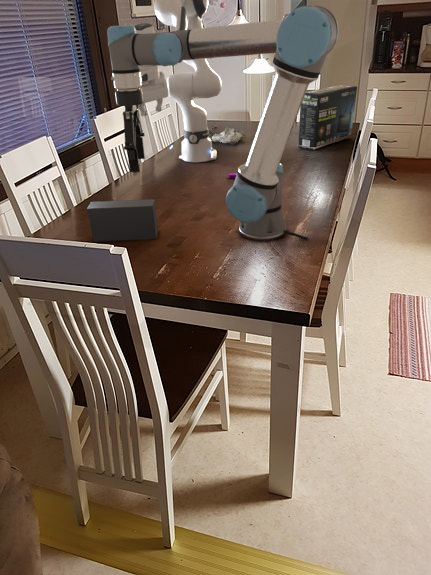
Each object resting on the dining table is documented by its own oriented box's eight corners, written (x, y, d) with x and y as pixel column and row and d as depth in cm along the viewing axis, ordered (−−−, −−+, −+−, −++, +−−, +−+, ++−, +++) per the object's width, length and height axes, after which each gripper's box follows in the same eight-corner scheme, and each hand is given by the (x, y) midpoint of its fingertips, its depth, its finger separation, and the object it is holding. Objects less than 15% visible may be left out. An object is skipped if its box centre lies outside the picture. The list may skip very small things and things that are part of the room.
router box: (314, 151, 231) (318, 94, 217) (296, 148, 237) (299, 92, 224) (352, 138, 251) (358, 85, 238) (335, 135, 258) (340, 83, 245)
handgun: (227, 177, 201) (227, 172, 200) (244, 175, 202) (244, 170, 201) (238, 192, 183) (238, 187, 182) (257, 189, 184) (257, 185, 183)
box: (157, 231, 153) (154, 199, 147) (156, 239, 148) (152, 205, 142) (97, 234, 153) (91, 201, 147) (93, 241, 148) (87, 208, 142)
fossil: (235, 139, 243) (216, 121, 246) (225, 155, 249) (206, 138, 252) (251, 137, 256) (233, 120, 260) (241, 153, 263) (223, 137, 266)
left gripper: (157, 70, 179) (160, 108, 186) (123, 77, 164) (128, 117, 171) (170, 71, 176) (173, 109, 183) (137, 77, 161) (141, 119, 168)
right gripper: (121, 83, 138) (130, 154, 149) (106, 96, 117) (118, 178, 128) (146, 82, 138) (153, 153, 149) (136, 95, 117) (145, 177, 128)
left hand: (151, 113), depth 177 cm, fingers open, 8 cm apart
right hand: (137, 165), depth 139 cm, fingers open, 13 cm apart
